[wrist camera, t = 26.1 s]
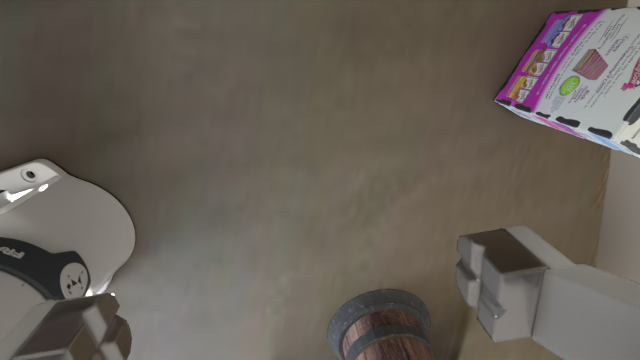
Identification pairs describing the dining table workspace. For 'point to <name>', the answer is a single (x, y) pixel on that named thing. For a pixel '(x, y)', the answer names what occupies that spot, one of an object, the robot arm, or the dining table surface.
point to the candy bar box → (583, 77)
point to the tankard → (381, 328)
